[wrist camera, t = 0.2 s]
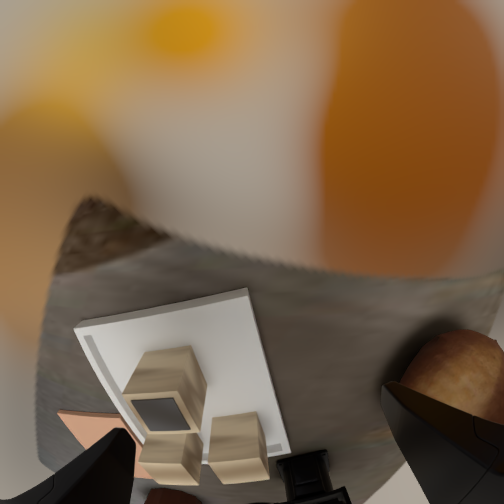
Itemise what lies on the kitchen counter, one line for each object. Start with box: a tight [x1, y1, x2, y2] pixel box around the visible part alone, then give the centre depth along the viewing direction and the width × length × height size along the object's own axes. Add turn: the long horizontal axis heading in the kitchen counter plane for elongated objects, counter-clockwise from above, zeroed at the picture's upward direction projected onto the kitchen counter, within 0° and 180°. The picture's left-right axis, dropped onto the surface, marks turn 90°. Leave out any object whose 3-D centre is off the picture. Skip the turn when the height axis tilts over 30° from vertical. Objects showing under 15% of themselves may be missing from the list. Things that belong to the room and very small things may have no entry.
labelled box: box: [122, 345, 207, 434], centre depth 19 cm, size 4×4×6 cm
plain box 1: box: [138, 433, 204, 485], centre depth 21 cm, size 4×4×6 cm
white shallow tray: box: [74, 287, 291, 464], centre depth 23 cm, size 20×16×2 cm
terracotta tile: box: [57, 410, 153, 479], centre depth 25 cm, size 14×11×1 cm
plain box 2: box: [208, 411, 270, 484], centre depth 21 cm, size 4×4×6 cm
